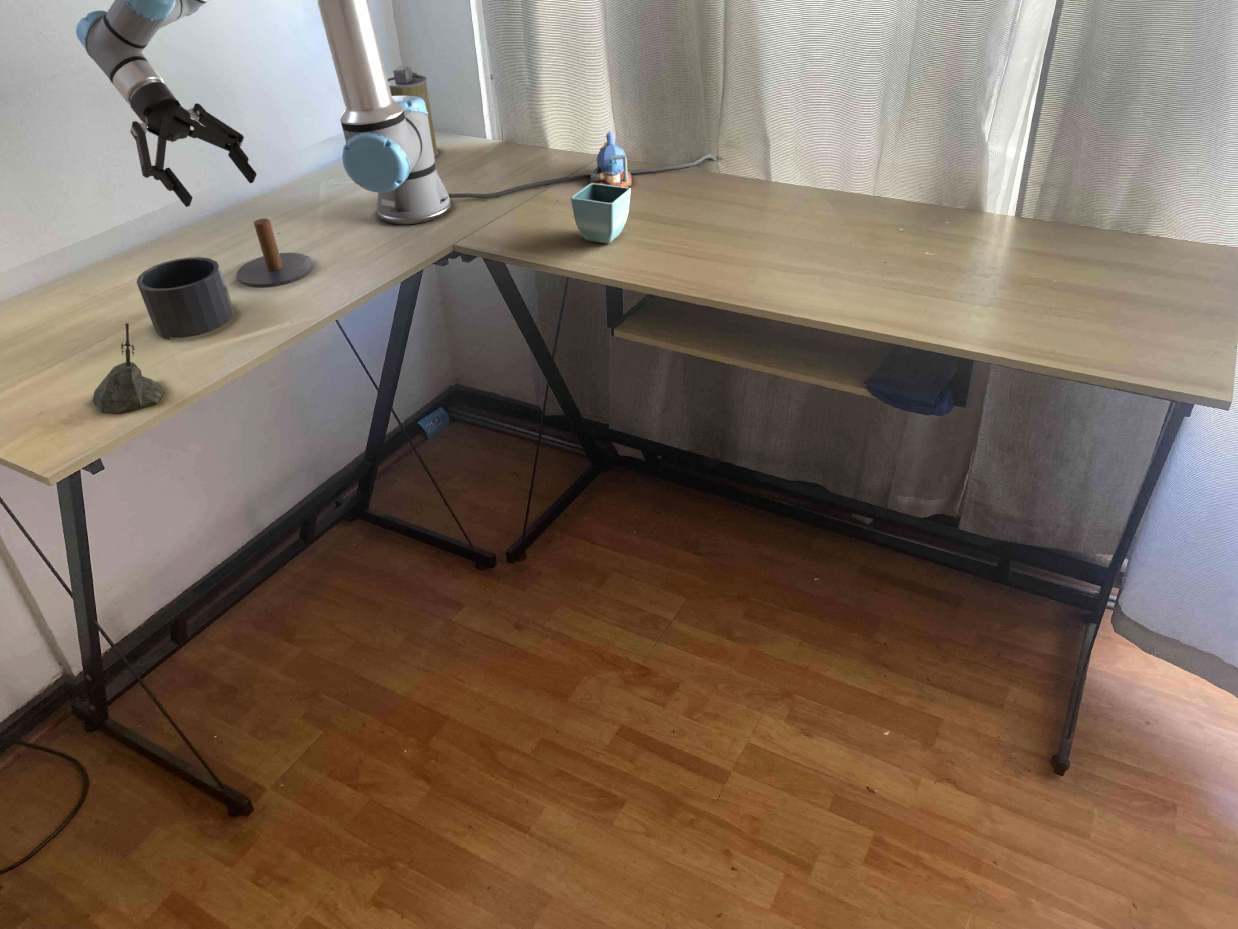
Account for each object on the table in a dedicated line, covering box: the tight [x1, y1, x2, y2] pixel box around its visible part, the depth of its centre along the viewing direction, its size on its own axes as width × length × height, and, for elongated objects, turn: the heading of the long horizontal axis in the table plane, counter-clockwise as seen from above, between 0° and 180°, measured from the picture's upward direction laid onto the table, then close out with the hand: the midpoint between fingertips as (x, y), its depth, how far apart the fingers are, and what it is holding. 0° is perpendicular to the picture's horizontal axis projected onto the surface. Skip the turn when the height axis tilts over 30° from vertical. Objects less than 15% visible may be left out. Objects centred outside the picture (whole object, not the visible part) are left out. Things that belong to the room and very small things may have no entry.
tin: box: [136, 256, 235, 341], centre depth 154 cm, size 13×13×9 cm
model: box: [589, 131, 633, 188], centre depth 201 cm, size 12×9×9 cm
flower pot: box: [570, 183, 632, 244], centre depth 175 cm, size 9×9×9 cm
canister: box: [387, 66, 439, 158], centre depth 218 cm, size 11×10×20 cm
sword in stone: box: [92, 322, 164, 414], centre depth 134 cm, size 10×8×12 cm
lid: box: [236, 218, 315, 288], centre depth 168 cm, size 14×14×10 cm
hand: (222, 190), depth 167 cm, fingers open, 13 cm apart
